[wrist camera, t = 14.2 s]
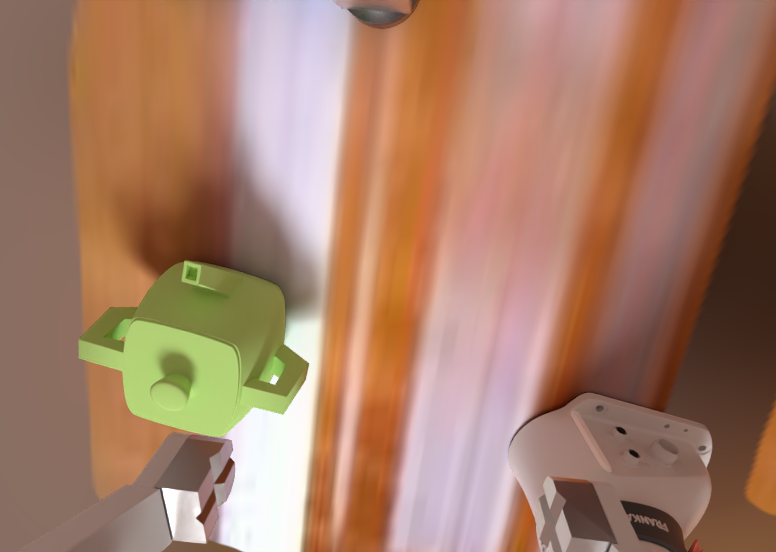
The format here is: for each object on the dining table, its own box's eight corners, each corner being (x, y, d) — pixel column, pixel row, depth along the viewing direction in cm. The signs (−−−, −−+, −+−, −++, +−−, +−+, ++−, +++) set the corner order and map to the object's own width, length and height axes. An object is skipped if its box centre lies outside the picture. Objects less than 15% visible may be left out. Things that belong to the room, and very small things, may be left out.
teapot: (146, 195, 41) (35, 241, 30) (342, 253, 42) (311, 320, 31) (140, 344, 49) (51, 427, 37) (306, 390, 50) (270, 485, 38)
